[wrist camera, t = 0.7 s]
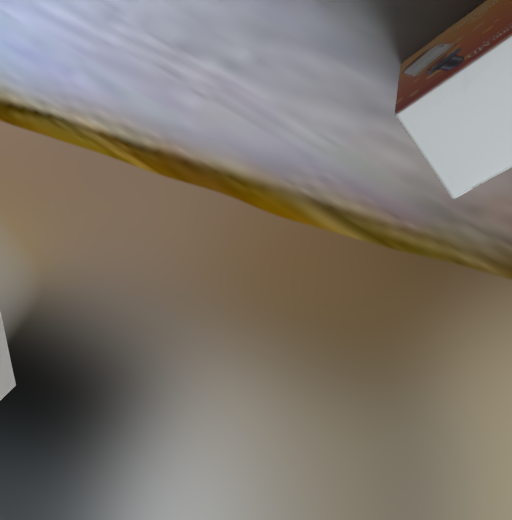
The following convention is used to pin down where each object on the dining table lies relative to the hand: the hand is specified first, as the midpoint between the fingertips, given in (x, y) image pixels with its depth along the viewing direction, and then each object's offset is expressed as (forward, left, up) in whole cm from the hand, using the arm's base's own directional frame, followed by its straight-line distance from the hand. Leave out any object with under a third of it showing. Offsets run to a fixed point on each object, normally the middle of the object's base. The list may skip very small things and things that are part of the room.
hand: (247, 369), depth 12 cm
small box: (-7, +4, -26) cm, 27 cm away
